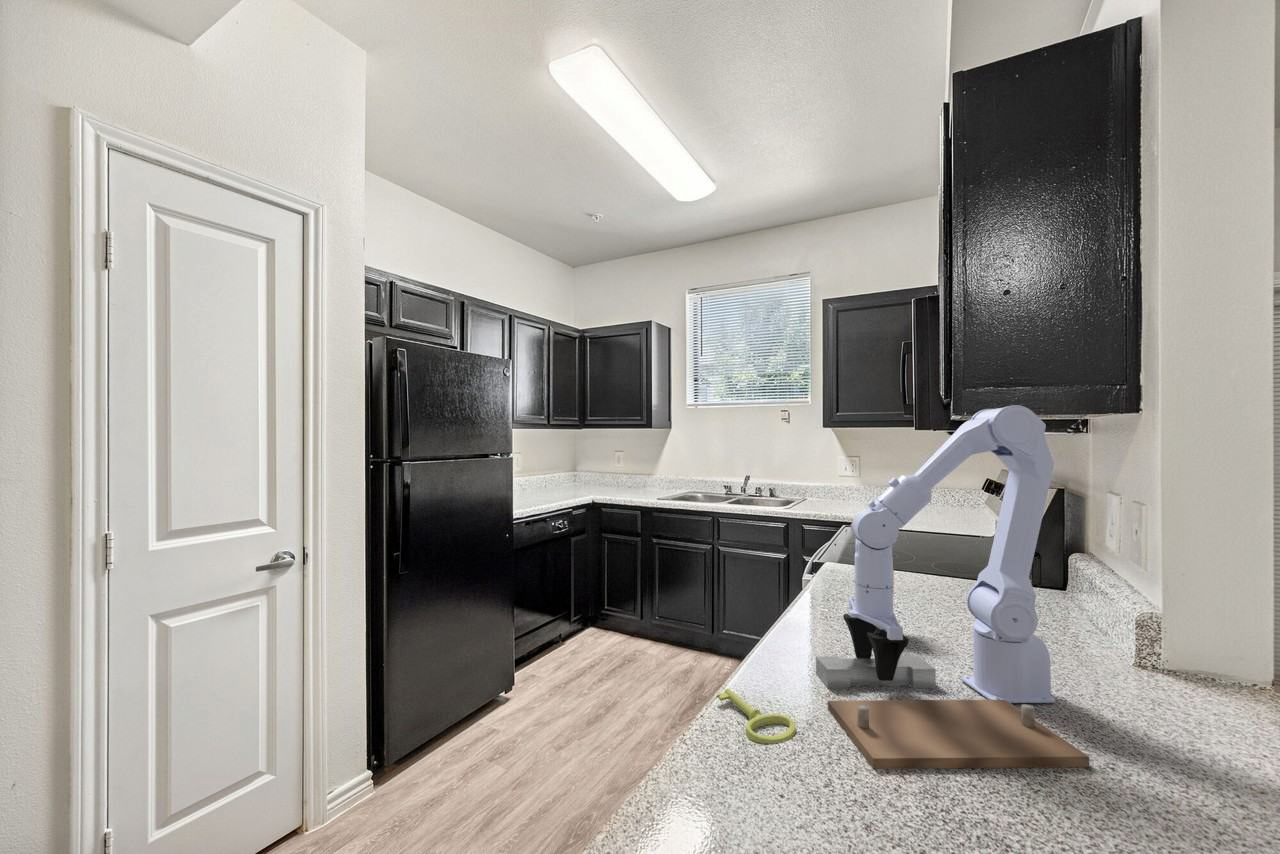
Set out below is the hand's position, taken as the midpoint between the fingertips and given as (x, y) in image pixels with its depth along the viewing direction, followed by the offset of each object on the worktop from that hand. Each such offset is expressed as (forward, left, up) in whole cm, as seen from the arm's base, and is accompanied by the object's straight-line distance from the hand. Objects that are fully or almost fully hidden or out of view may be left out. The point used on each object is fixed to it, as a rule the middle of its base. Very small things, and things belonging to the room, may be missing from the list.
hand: (873, 669), depth 86 cm
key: (+22, +12, -3) cm, 25 cm away
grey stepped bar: (0, 0, -2) cm, 2 cm away
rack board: (-2, +16, -2) cm, 16 cm away
